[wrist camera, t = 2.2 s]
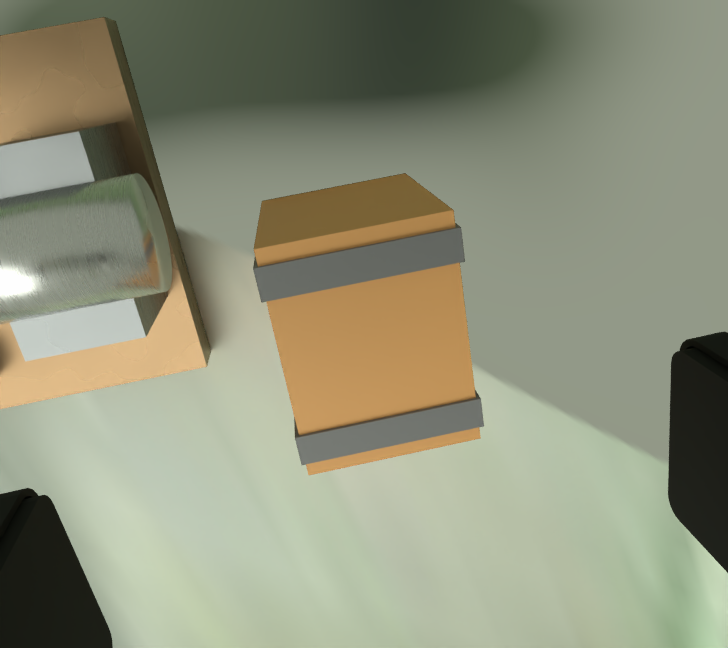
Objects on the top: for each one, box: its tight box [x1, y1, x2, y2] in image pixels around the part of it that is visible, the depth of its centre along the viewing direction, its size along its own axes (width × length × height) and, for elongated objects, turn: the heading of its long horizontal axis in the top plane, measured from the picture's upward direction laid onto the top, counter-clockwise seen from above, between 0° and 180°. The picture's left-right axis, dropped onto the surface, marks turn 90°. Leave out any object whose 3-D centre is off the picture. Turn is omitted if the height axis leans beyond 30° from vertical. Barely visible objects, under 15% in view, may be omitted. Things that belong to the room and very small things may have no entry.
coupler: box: [253, 173, 484, 475], centre depth 18 cm, size 6×5×6 cm
